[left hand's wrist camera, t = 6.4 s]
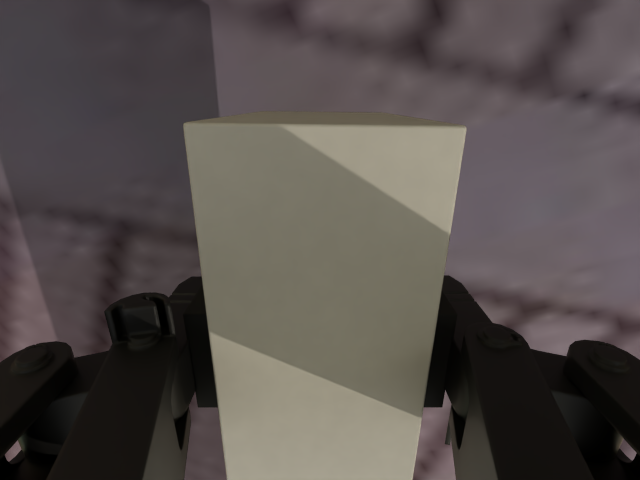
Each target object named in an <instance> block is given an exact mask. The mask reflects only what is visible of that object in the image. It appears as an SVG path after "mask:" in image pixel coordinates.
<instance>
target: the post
mask: <svg viewBox="0 0 640 480" xmlns="http://www.w3.org/2000/svg"><path fill="white" fill-rule="evenodd" d="M183 129H184V137H185V145H186V153H187V161H188V169H189V177H190V185H191V193H192V201H193V209H194V217H195V226H196V234H197V242H198V250H199V258H200V266H201V274H202V282H203V290H204V298H205V306H206V314H207V322H208V331H209V339H210V347H211V355H212V363H213V371H214V379H215V387H216V395H217V403H218V411H219V419H220V427H221V435H222V444H223V452H224V460H225V468H226V476H227V480H412V479H413V472H414V466H415V459H416V453H417V446H418V440H419V433H420V427H421V420H422V414H423V407H424V401H425V394H426V388H427V381H428V375H429V368H430V362H431V356H432V349H433V343H434V336H435V330H436V323H437V317H438V310H439V304H440V297H441V291H442V284H443V278H444V271H445V265H446V258H447V252H448V245H449V239H450V232H451V226H452V219H453V213H454V207H455V200H456V194H457V187H458V181H459V174H460V168H461V161H462V155H463V148H464V142H465V135H466V126H464V125H458V124H451V123H445V122H439V121H432V120H426V119H420V118H413V117H407V116H401V115H394V114H388V113H370V112H283V111H261V112H254V113H247V114H240V115H233V116H226V117H219V118H212V119H205V120H198V121H191V122H186V123H184V125H183Z"/></svg>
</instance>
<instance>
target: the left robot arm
mask: <svg viewBox="0 0 640 480" xmlns="http://www.w3.org/2000/svg"><path fill="white" fill-rule="evenodd" d="M104 312H105V316H106V320H107V324H108V328H109V332H110V335H111V339H112V343H113V344H112V346H111V348H110V350H109V351H105V352H101V353H96V354H91V355H86V356H81V357H76V358H74V355H73V352H72V349H71V347H70V346H69V345H68V344H67V343H63V342H57V341H55V342H46V343H39V344H36V345H32V346H29V347H26V348H25V349H23V350H20V351H18V352H16V353H14V354H12V355H11V356H9V357H8V358H6V359H5V360H3V361H2V362H0V480H184V475H185V467H186V458H187V450H188V442H189V434H190V426H191V417H190V411H189V404H190V402H191V399H192V397H193V395H194V392H195V391H196V398H197V404H198V407H218V403H217V395H216V387H215V379H214V371H213V363H212V355H211V347H210V339H209V331H208V322H207V314H206V306H205V298H204V290H203V282H202V277H190V278H189V279H187V280H185V281H184V282H182V283H181V284H179V285H178V286H177V288H176V289H175V290H174V292H173V293H172V295H170V297H169V298H168V297H167V296H166V295H164V294H160V293H141V294H136V295H131V296H129V297H126V298H123V299H120V300H119V301H117V302H115V303H113V304H112V305H110V306H109V307H108V308H107V309H106V310H105V311H104ZM445 390H446V392H447V394H448V397H449V399H450V401H451V404H452V405H451V411H450V416H449V422H448V428H447V433H446V440H445V444H448V445H450V440H451V441H452V449H453V458H454V466H455V474H456V480H640V360H639V359H637V358H636V357H634V356H633V355H631V354H630V353H628V352H626V351H624V350H622V349H620V348H617V347H616V346H614V345H611V344H608V343H605V342H600V341H591V340H580V341H575V342H574V343H572V344H571V345H570V347H569V350H568V353H567V356H562V355H557V354H552V353H547V352H542V351H537V350H533V349H530V347H529V345H528V343H527V342H526V341H525V339H524V338H523V337H522V336H521V335H520V334H518V333H517V332H515V331H514V330H512V329H510V328H507V327H505V326H503V325H499V324H495V323H492V322H491V320H490V319H489V318H488V316H487V315H486V314H485V313H484V311H483V310H482V309H481V308H480V306H479V305H478V304H477V302H474V299H473V297H472V296H471V295H470V294H468V291H467V290H466V288H465V287H464V286H463V285H462V283H460V282H459V281H457V280H455V279H454V278H452V277H450V276H444V278H443V284H442V291H441V297H440V304H439V310H438V317H437V323H436V330H435V336H434V343H433V349H432V356H431V362H430V368H429V375H428V381H427V388H426V394H425V401H424V407H442V405H443V399H444V393H445ZM623 438H624V439H625V440H626V442H627V443H628V444H629V445H630V446H631V447H632V448H633V449H634V450H635V451H636V452H637V454H636V456H635V458H634V460H633V461H632V460H630V459H629V458H628V457H627V456H626V455H625V454H624V453H623V452H622V451H621V449H620V448H619V447H620V445H621V443H622V440H623ZM17 440H18V442H19V444H20V446H21V449H22V450H21V451H20V452H19V453H18V454H17V455H16V457H14V458H13V459H12V460H11V461H10V462H8V461H7V460H6V457H5V453H6V452H7V451H8V450H9V449H10V448H11V447H12V446H13V445H14V444H15V442H16V441H17Z"/></svg>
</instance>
